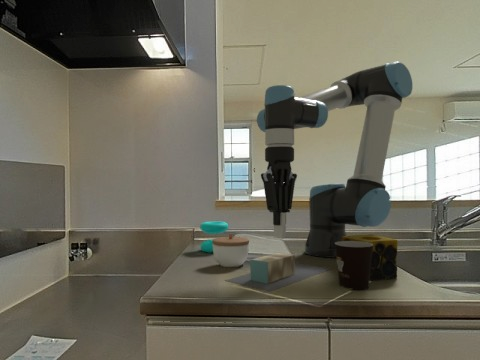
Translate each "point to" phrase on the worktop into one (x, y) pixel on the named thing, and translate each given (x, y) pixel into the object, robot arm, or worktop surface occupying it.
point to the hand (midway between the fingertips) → (279, 237)
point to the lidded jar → (230, 250)
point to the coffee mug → (354, 264)
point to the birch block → (272, 267)
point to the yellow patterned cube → (380, 255)
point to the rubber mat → (300, 273)
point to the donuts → (212, 228)
